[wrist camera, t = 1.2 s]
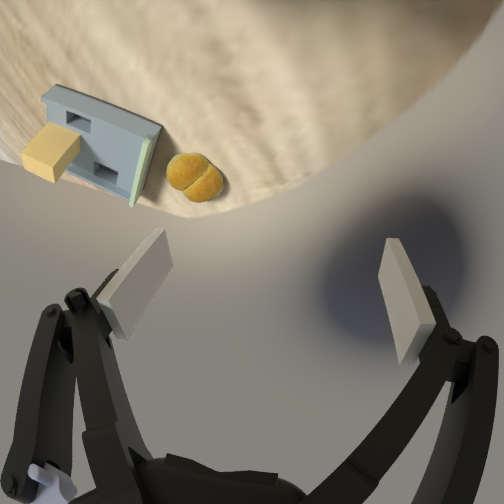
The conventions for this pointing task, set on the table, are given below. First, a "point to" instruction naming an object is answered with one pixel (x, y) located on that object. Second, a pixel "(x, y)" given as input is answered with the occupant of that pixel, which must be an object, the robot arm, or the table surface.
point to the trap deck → (105, 141)
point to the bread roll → (194, 177)
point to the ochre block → (51, 151)
